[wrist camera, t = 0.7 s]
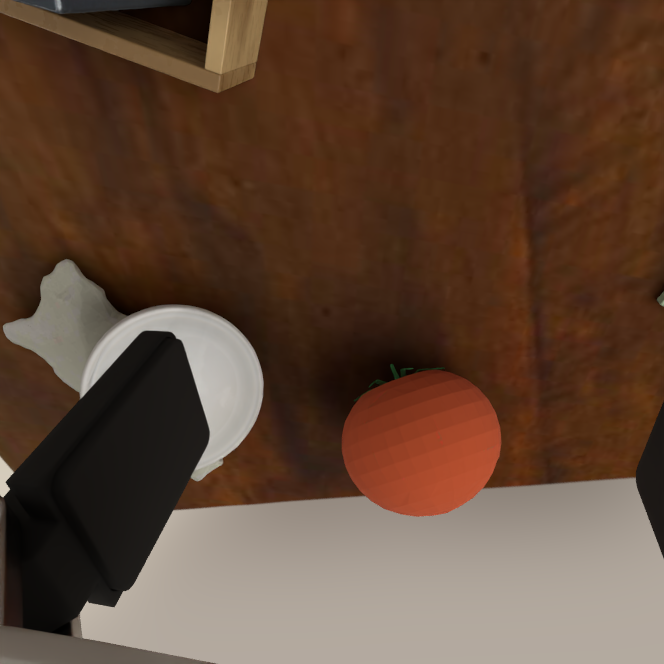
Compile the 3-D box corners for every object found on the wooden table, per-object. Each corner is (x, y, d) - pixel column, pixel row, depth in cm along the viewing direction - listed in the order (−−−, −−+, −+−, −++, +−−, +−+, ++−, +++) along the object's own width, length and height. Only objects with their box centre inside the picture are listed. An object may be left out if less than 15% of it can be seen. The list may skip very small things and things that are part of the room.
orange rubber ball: (474, 491, 37) (426, 368, 40) (563, 480, 28) (492, 320, 30) (350, 539, 34) (307, 401, 36) (403, 545, 24) (340, 359, 27)
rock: (16, 320, 40) (193, 473, 46) (-28, 348, 36) (171, 512, 42) (90, 235, 35) (281, 420, 40) (49, 257, 31) (265, 459, 37)
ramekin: (71, 305, 32) (63, 318, 28) (238, 287, 37) (256, 296, 32) (99, 459, 35) (96, 495, 30) (252, 426, 39) (270, 453, 34)
